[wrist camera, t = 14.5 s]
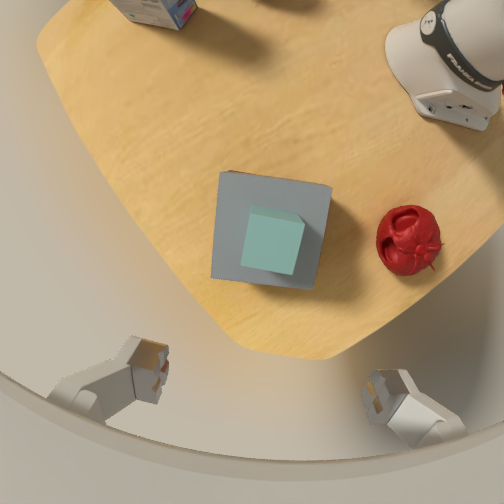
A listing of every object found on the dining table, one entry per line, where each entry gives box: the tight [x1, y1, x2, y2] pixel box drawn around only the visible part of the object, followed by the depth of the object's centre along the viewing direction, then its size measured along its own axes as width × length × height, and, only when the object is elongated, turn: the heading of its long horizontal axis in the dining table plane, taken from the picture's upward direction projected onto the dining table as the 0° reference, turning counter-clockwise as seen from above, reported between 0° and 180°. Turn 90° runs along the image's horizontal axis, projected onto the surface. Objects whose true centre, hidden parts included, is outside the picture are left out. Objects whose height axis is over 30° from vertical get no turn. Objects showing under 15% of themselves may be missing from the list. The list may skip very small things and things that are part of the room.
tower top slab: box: [211, 171, 332, 290], centre depth 32 cm, size 12×12×4 cm
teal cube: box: [240, 205, 305, 275], centre depth 28 cm, size 5×5×5 cm
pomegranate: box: [376, 205, 445, 276], centre depth 33 cm, size 10×10×9 cm
